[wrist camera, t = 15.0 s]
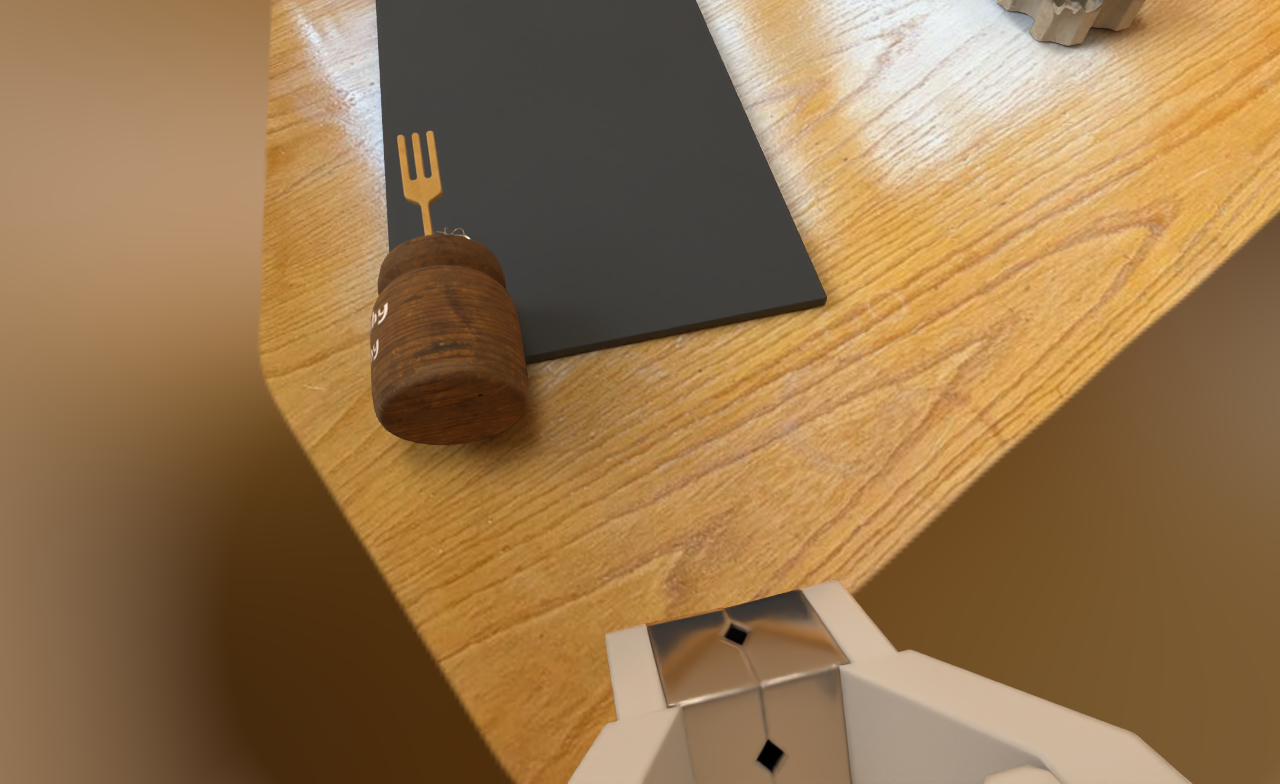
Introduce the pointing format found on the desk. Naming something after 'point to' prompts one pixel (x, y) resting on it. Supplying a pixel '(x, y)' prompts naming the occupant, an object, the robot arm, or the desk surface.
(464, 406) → the utensil holder
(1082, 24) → the egg carton
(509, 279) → the desk mat
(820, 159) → the desk surface
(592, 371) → the desk surface
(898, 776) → the robot arm
